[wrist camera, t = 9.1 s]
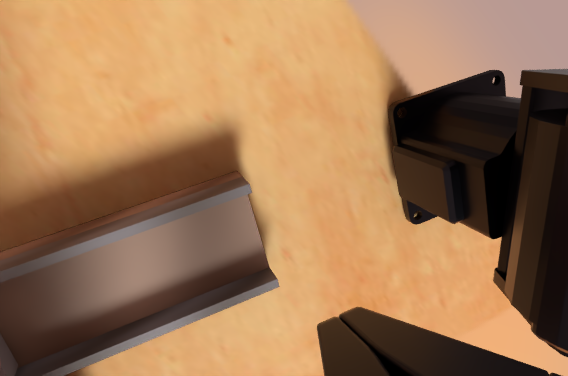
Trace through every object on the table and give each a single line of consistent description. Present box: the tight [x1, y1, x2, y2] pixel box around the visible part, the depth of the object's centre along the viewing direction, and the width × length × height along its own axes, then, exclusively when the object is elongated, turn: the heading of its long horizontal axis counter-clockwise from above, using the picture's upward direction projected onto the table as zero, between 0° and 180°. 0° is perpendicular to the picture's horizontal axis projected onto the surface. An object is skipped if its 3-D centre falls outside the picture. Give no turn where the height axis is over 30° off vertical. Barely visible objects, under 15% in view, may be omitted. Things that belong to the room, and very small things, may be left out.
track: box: [0, 171, 280, 376], centre depth 18 cm, size 16×5×2 cm, turn 105°
